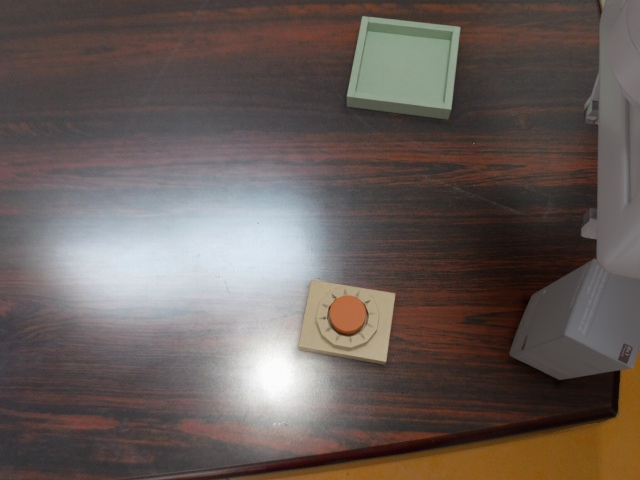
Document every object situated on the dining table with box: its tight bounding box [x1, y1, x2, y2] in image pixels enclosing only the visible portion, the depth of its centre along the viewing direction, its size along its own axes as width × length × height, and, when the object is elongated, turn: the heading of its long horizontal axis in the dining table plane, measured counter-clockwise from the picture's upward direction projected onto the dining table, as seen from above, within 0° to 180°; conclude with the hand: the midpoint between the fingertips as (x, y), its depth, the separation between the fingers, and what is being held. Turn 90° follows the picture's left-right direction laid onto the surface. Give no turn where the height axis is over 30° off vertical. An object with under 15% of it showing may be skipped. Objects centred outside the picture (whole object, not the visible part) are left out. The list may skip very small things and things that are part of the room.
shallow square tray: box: [346, 15, 461, 120], centre depth 75 cm, size 14×14×2 cm
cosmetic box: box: [508, 258, 640, 381], centre depth 54 cm, size 8×7×16 cm
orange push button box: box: [297, 279, 396, 366], centre depth 61 cm, size 10×8×4 cm
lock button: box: [330, 295, 366, 334], centre depth 59 cm, size 4×4×2 cm
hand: (593, 171), depth 39 cm, fingers open, 8 cm apart
